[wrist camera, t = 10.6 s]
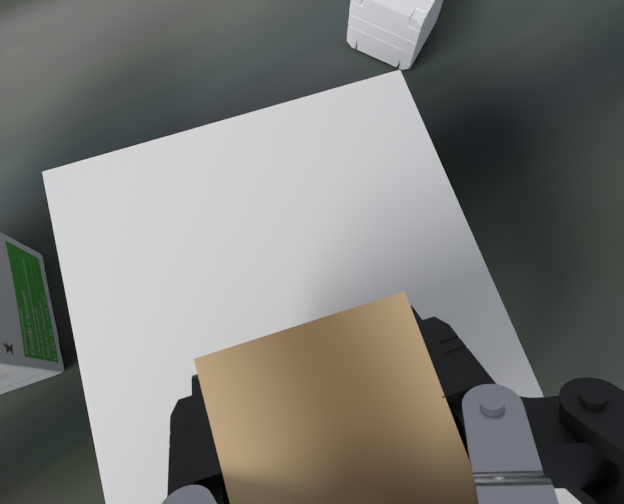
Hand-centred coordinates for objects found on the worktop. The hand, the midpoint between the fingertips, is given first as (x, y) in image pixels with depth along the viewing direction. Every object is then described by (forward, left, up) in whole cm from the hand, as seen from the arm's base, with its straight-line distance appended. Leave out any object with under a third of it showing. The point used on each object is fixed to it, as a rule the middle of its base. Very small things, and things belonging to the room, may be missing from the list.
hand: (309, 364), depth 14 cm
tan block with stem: (0, -2, -9) cm, 9 cm away
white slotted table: (0, +1, -17) cm, 17 cm away
